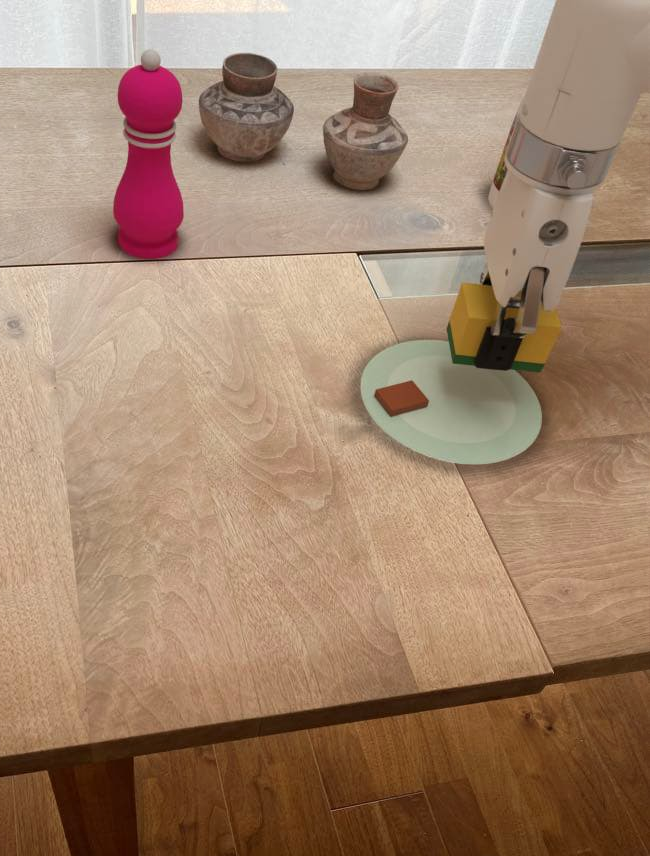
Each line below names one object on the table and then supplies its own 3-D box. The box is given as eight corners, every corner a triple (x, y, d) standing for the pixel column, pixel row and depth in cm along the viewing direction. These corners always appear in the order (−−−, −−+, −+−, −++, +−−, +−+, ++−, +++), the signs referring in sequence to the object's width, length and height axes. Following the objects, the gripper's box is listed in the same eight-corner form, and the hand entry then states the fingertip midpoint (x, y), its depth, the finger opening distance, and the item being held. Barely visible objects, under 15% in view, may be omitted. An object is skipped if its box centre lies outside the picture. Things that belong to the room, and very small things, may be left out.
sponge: (531, 337, 82) (551, 291, 78) (540, 373, 79) (562, 327, 75) (446, 328, 81) (462, 282, 78) (452, 363, 78) (469, 317, 74)
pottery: (387, 216, 103) (411, 113, 94) (183, 166, 106) (188, 61, 97) (403, 170, 110) (427, 71, 101) (211, 125, 113) (218, 24, 104)
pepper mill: (196, 251, 95) (208, 55, 80) (145, 276, 91) (147, 75, 76) (150, 221, 98) (154, 26, 82) (99, 244, 94) (93, 44, 79)
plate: (521, 357, 89) (525, 347, 88) (553, 481, 78) (558, 472, 77) (353, 341, 88) (355, 331, 87) (362, 464, 77) (365, 455, 76)
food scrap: (410, 386, 82) (412, 379, 82) (427, 407, 81) (429, 400, 80) (373, 395, 81) (375, 389, 81) (390, 417, 80) (392, 410, 79)
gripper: (638, 218, 61) (544, 415, 75) (586, 103, 71) (512, 293, 85) (530, 207, 60) (456, 407, 74) (494, 92, 71) (436, 286, 85)
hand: (487, 344), depth 80 cm, fingers closed on sponge, 5 cm apart
